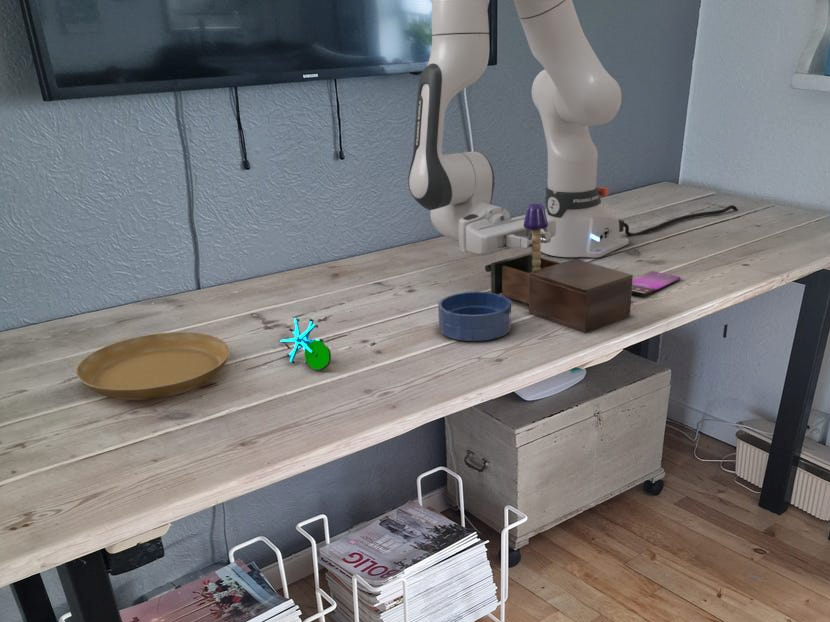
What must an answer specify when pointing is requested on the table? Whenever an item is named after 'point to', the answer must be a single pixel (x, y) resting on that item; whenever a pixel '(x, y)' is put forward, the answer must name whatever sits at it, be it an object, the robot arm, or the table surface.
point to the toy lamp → (535, 230)
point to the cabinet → (580, 294)
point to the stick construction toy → (309, 347)
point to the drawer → (514, 276)
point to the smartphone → (651, 282)
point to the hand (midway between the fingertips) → (539, 241)
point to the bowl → (474, 316)
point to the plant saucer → (153, 365)
